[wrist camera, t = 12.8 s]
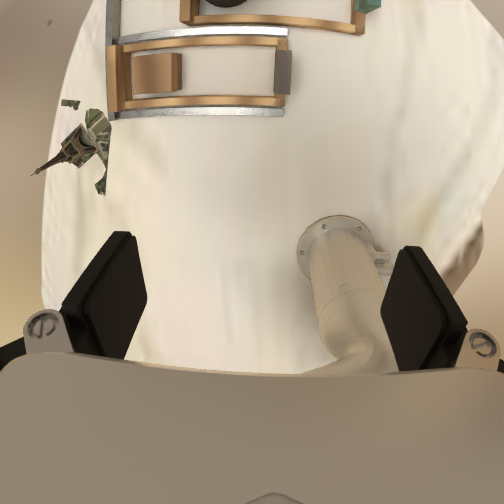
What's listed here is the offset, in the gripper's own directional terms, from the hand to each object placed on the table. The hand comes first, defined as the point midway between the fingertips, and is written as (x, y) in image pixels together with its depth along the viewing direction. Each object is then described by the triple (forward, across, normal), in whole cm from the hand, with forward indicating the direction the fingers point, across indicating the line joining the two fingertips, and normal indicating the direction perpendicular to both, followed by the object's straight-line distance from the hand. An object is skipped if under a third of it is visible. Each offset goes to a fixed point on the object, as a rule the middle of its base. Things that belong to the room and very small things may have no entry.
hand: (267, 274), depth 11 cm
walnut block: (+34, +14, -6) cm, 38 cm away
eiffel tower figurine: (+35, +28, +4) cm, 45 cm away
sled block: (+34, +9, -6) cm, 36 cm away
